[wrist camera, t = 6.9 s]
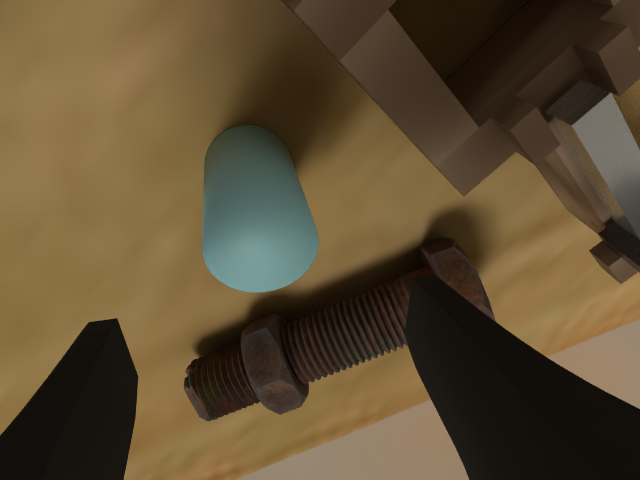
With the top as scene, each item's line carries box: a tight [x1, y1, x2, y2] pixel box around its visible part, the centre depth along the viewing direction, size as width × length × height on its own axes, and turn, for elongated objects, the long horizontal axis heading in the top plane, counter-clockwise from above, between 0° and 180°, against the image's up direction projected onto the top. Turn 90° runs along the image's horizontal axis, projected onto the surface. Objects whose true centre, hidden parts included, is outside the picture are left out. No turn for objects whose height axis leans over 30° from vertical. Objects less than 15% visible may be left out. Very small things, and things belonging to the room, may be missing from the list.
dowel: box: [202, 125, 319, 292], centre depth 16 cm, size 4×4×6 cm
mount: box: [282, 0, 640, 284], centre depth 17 cm, size 18×9×5 cm, turn 44°
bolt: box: [184, 238, 496, 421], centre depth 23 cm, size 6×5×15 cm
